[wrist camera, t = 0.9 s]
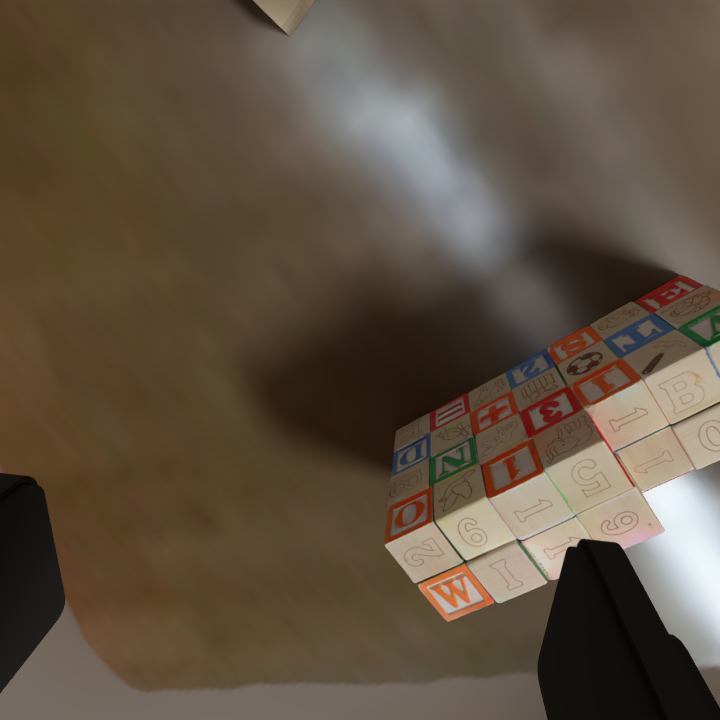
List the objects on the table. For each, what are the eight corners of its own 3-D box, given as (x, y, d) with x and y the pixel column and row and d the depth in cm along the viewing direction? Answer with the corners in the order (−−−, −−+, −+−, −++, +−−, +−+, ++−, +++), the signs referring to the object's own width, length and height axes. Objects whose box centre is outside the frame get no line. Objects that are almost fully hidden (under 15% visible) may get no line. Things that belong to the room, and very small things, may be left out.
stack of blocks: (680, 269, 32) (825, 331, 20) (722, 349, 33) (879, 449, 22) (393, 431, 38) (380, 547, 27) (439, 492, 39) (445, 627, 28)
